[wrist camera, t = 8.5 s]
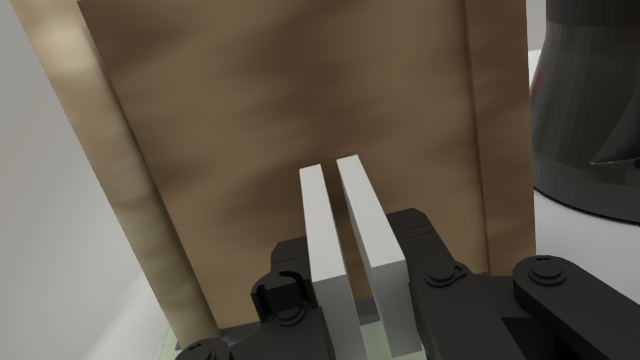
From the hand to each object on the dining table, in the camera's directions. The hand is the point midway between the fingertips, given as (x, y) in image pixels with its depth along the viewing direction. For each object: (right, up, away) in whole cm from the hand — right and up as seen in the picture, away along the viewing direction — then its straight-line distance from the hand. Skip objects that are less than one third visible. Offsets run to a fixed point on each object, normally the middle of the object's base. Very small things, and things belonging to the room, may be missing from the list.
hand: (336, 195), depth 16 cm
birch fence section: (-6, -5, +9) cm, 12 cm away
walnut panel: (+2, -5, +3) cm, 6 cm away
